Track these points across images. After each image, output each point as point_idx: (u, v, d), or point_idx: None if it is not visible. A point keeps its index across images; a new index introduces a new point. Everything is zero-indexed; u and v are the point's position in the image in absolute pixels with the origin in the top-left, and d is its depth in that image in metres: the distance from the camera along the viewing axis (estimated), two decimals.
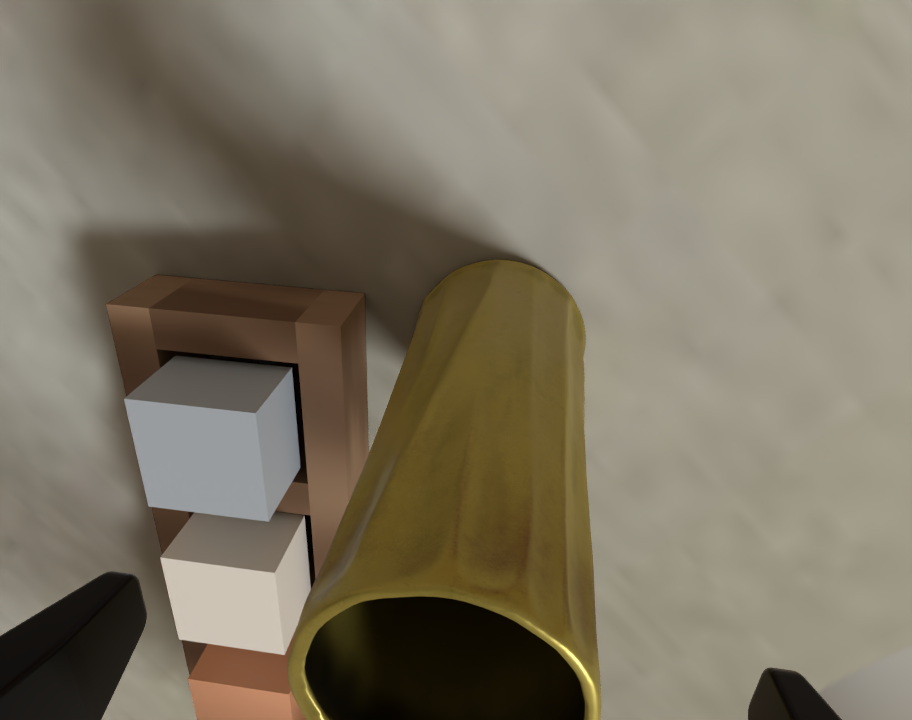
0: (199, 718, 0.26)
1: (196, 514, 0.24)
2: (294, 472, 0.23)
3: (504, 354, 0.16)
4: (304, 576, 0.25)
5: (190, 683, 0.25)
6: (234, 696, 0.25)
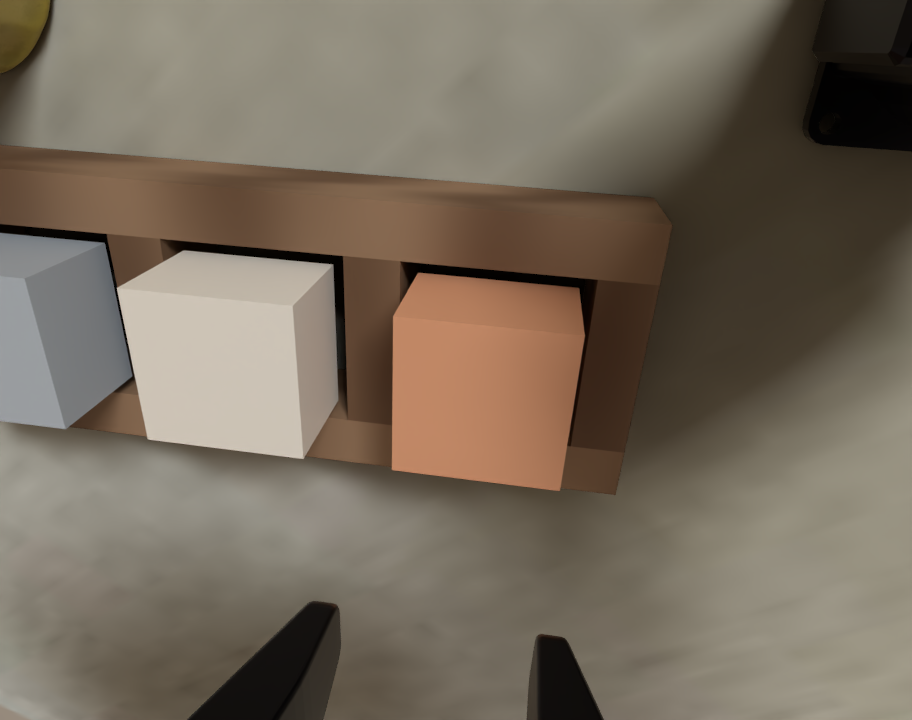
0: (490, 478, 0.15)
1: None
2: (85, 248, 0.17)
3: None
4: (271, 265, 0.16)
5: (402, 469, 0.16)
6: (418, 409, 0.15)
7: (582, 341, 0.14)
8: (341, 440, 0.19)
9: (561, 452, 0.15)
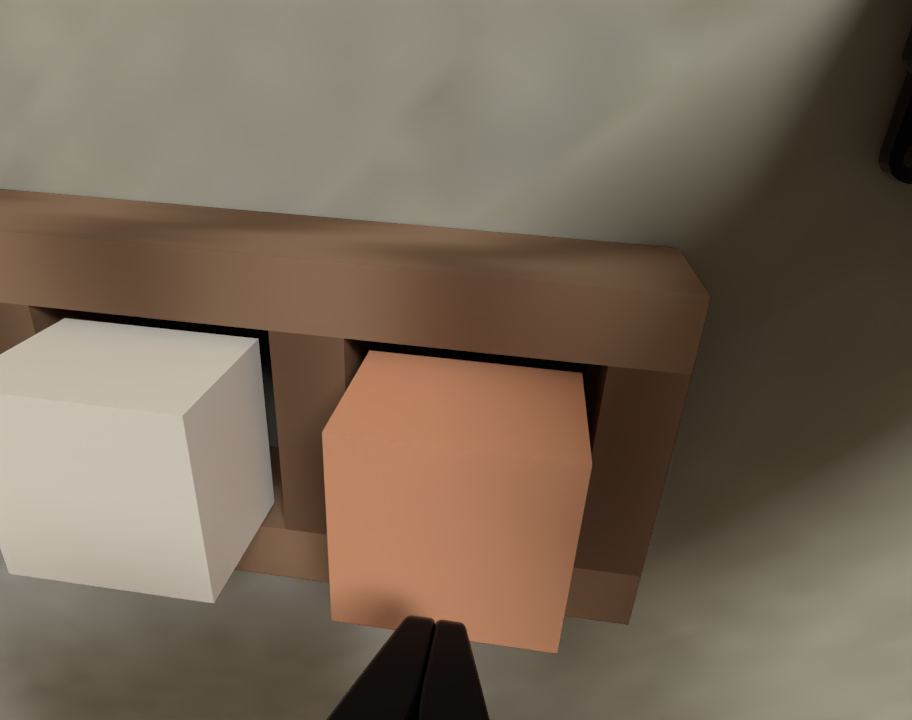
0: None
1: None
2: None
3: None
4: (174, 341, 0.12)
5: (345, 620, 0.12)
6: (363, 549, 0.11)
7: (588, 471, 0.10)
8: (279, 552, 0.15)
9: (559, 607, 0.11)
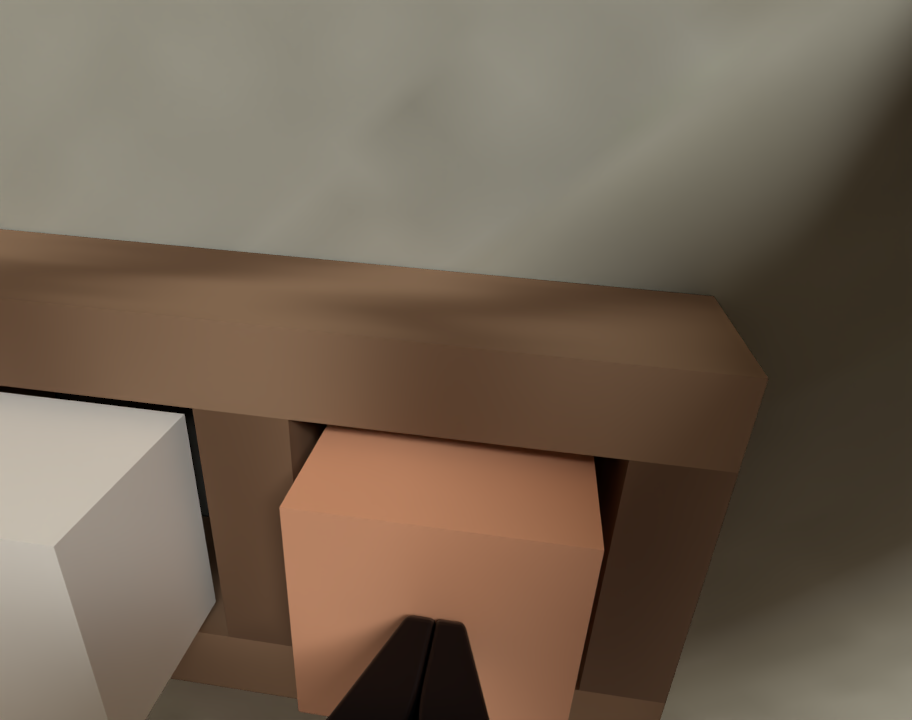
0: None
1: None
2: None
3: None
4: (74, 420, 0.10)
5: (314, 711, 0.10)
6: (333, 637, 0.09)
7: (600, 559, 0.08)
8: (222, 662, 0.12)
9: (563, 705, 0.09)
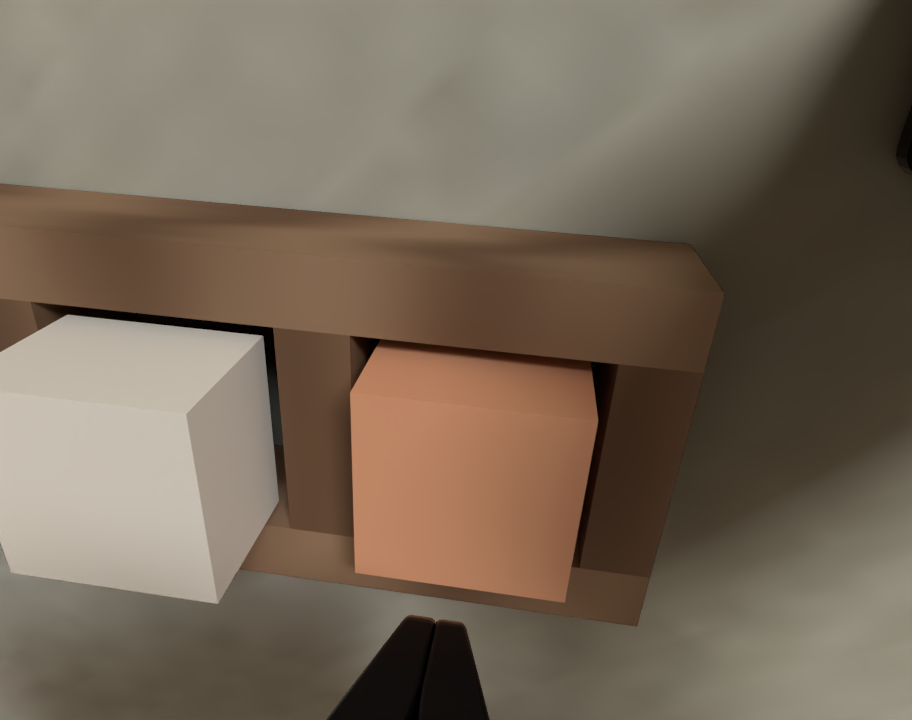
0: (477, 586, 0.12)
1: None
2: None
3: None
4: (178, 338, 0.12)
5: (368, 572, 0.13)
6: (385, 504, 0.12)
7: (594, 428, 0.10)
8: (283, 552, 0.15)
9: (566, 558, 0.12)
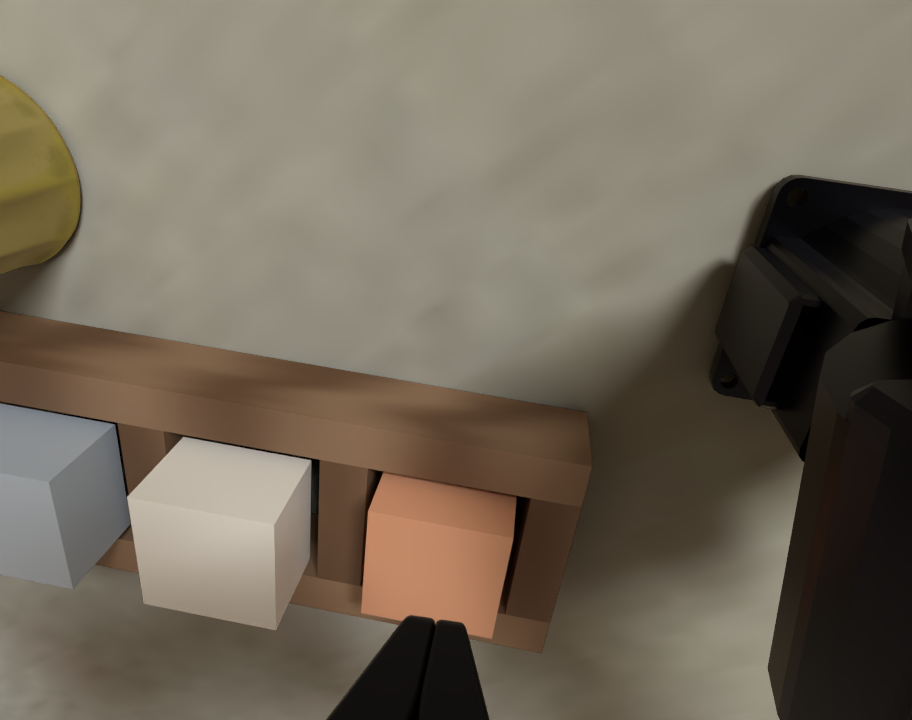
0: None
1: None
2: (98, 433, 0.20)
3: None
4: (258, 461, 0.19)
5: (369, 613, 0.20)
6: (384, 574, 0.19)
7: (511, 542, 0.18)
8: (310, 592, 0.22)
9: (493, 612, 0.19)
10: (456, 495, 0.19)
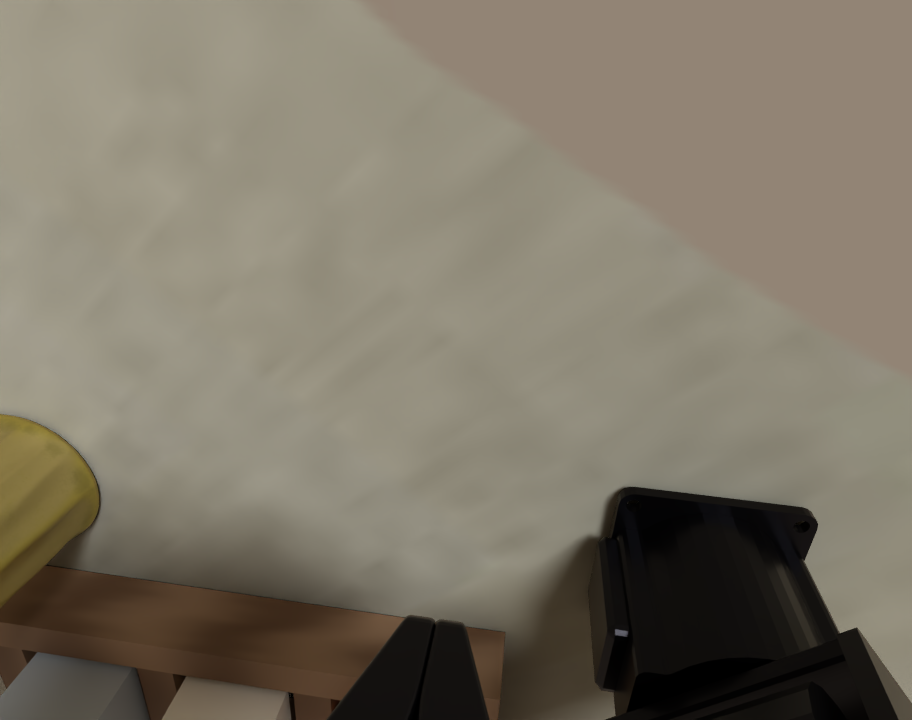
0: None
1: None
2: (123, 676, 0.25)
3: None
4: (246, 695, 0.25)
5: None
6: None
7: None
8: None
9: None
10: None
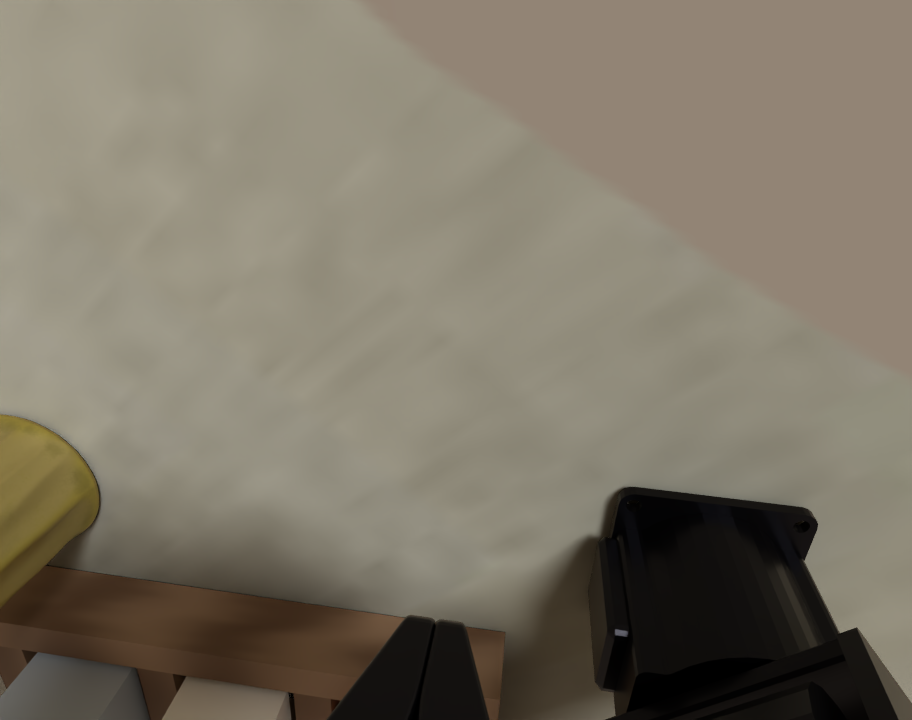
0: None
1: None
2: (123, 676, 0.25)
3: None
4: (246, 695, 0.25)
5: None
6: None
7: None
8: None
9: None
10: None
